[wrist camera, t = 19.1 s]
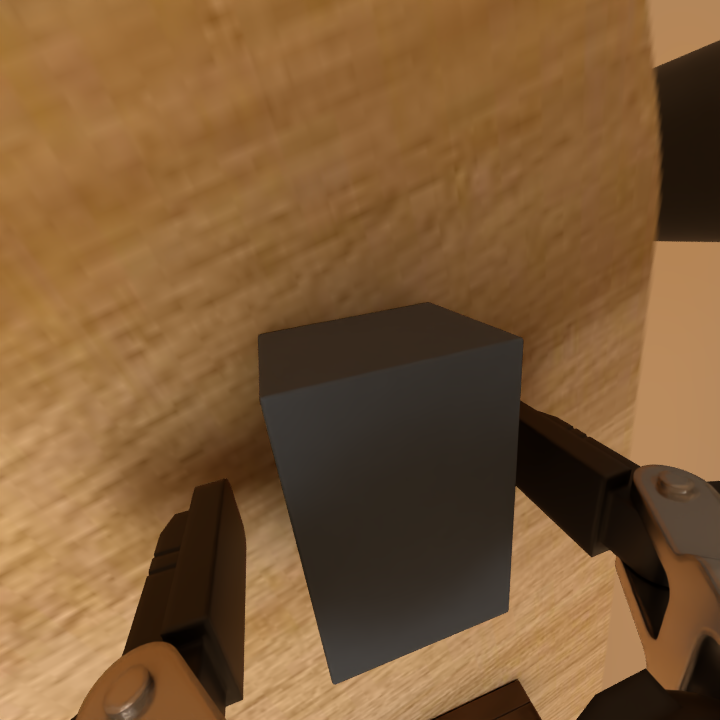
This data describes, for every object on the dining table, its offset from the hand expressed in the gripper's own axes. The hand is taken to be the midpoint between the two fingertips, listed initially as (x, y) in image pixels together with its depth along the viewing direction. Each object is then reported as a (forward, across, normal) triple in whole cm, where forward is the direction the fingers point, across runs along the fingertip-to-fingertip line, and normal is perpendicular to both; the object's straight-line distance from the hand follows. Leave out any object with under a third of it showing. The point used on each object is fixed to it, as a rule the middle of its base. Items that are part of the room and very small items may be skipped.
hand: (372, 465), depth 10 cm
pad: (+1, 0, 0) cm, 1 cm away
